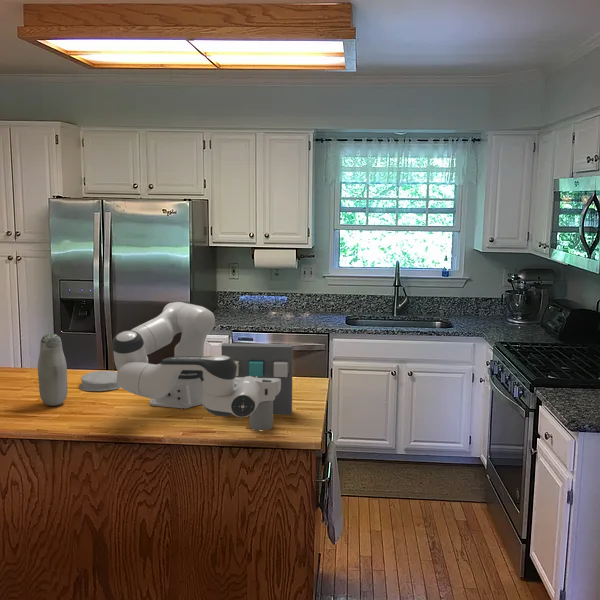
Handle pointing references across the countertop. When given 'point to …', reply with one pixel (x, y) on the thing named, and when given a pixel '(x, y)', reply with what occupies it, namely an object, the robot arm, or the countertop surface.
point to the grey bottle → (52, 371)
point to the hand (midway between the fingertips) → (253, 378)
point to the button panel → (266, 367)
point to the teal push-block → (256, 368)
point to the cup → (262, 416)
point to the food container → (99, 381)
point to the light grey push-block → (280, 368)
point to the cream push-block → (237, 366)
